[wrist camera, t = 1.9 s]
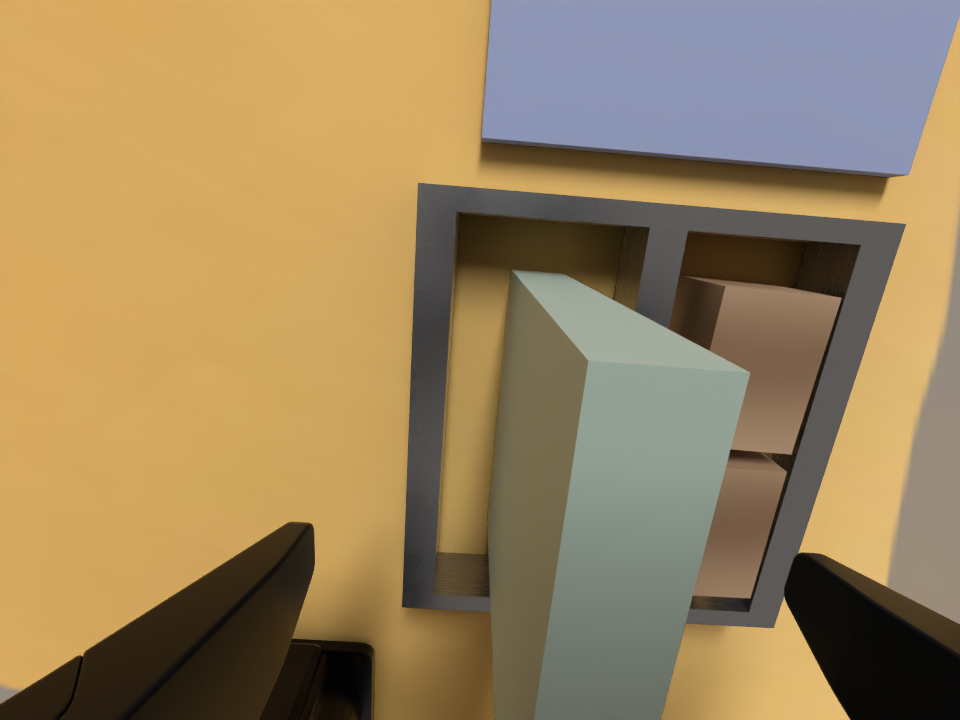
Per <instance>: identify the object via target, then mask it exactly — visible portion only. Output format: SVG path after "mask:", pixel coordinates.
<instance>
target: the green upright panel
mask: <svg viewBox="0 0 960 720" xmlns="http://www.w3.org/2000/svg"><path fill="white" fill-rule="evenodd" d="M749 376H750V372H748V371H746V370H744V369H743V368H741V367H739V366H737V365H735V364H733V363H731V362H729V361H727V360H726V359H724V358H722V357H720V356H718V355H716V354H714V353H712V352H710V351H709V350H707V349H705V348H703V347H701V346H699V345H697V344H695V343H693V342H692V341H690V340H688V339H686V338H684V337H682V336H680V335H678V334H676V333H675V332H673V331H671V330H669V329H667V328H665V327H663V326H661V325H659V324H658V323H656V322H654V321H652V320H650V319H648V318H646V317H644V316H642V315H641V314H639V313H637V312H635V311H633V310H631V309H629V308H627V307H625V306H624V305H622V304H620V303H618V302H616V301H614V300H612V299H610V298H608V297H607V296H605V295H603V294H601V293H599V292H597V291H595V290H593V289H591V288H590V287H588V286H586V285H584V284H582V283H580V282H578V281H576V280H574V279H573V278H571V277H569V276H567V275H565V274H563V273H553V272H540V271H528V270H515V269H511V277H510V287H509V298H508V308H507V318H506V329H505V339H504V349H503V360H502V370H501V381H500V391H499V401H498V412H497V422H496V433H495V443H494V453H493V464H492V474H491V484H490V495H489V505H488V516H487V530H488V556H489V582H490V609H491V635H492V661H493V687H494V714H495V720H661V717H662V713H663V709H664V705H665V701H666V697H667V693H668V690H669V686H670V682H671V678H672V674H673V670H674V666H675V662H676V659H677V655H678V651H679V647H680V643H681V639H682V635H683V632H684V628H685V624H686V620H687V616H688V612H689V608H690V604H691V601H692V597H693V593H694V589H695V585H696V581H697V577H698V573H699V570H700V566H701V562H702V558H703V554H704V550H705V546H706V542H707V539H708V535H709V531H710V527H711V523H712V519H713V515H714V512H715V508H716V504H717V500H718V496H719V492H720V488H721V484H722V481H723V477H724V473H725V469H726V465H727V461H728V457H729V453H730V450H731V446H732V442H733V438H734V434H735V430H736V426H737V422H738V419H739V415H740V411H741V407H742V403H743V399H744V395H745V392H746V388H747V384H748V380H749Z"/></svg>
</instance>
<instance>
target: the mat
mask: <svg viewBox="0 0 960 720" xmlns="http://www.w3.org/2000/svg"><path fill="white" fill-rule="evenodd" d="M959 16H960V0H492V2H491V16H490V30H489V44H488V57H487V71H486V85H485V99H484V113H483V126H482V141H481V142H492V143H503V144H514V145H526V146H537V147H549V148H560V149H572V150H583V151H594V152H606V153H617V154H629V155H640V156H652V157H663V158H674V159H686V160H697V161H709V162H720V163H732V164H743V165H755V166H766V167H777V168H789V169H800V170H812V171H823V172H835V173H846V174H857V175H869V176H880V177H897V176H905V175H909V172H910V169H911V166H912V163H913V160H914V157H915V154H916V150H917V147H918V144H919V141H920V138H921V135H922V132H923V129H924V125H925V122H926V119H927V116H928V113H929V110H930V107H931V104H932V100H933V97H934V94H935V91H936V88H937V85H938V82H939V79H940V75H941V72H942V69H943V66H944V63H945V60H946V57H947V54H948V50H949V47H950V44H951V41H952V38H953V35H954V32H955V29H956V25H957V22H958V19H959Z"/></svg>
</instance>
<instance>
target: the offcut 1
mask: <svg viewBox="0 0 960 720" xmlns="http://www.w3.org/2000/svg"><path fill="white" fill-rule="evenodd" d="M841 299H842V298H840V297H835V296H829V295H824V294H819V293H814V292H808V291H803V290H798V289H793V288H787V287H782V286H777V285H772V284H762V283H753V282H743V281H733V280H723V279H713V278H703V277H693V276H683V275H679V279H678V284H677V289H676V294H675V299H674V304H673V309H672V314H671V319H670V324H669V330H671V331H673V332H675V333H676V334H678V335H680V336H682V337H684V338H686V339H688V340H690V341H692V342H693V343H695V344H697V345H699V346H701V347H703V348H705V349H707V350H709V351H710V352H712V353H714V354H716V355H718V356H720V357H722V358H724V359H726V360H727V361H729V362H731V363H733V364H735V365H737V366H739V367H741V368H743V369H744V370H746V371H748V372H750V376H749V380H748V384H747V388H746V392H745V395H744V399H743V403H742V407H741V411H740V415H739V419H738V422H737V426H736V430H735V434H734V438H733V442H732V446H731V449H733V450H744V451H756V452H768V453H779V454H792V451H793V448H794V445H795V441H796V438H797V435H798V432H799V429H800V426H801V423H802V420H803V417H804V413H805V410H806V407H807V404H808V401H809V398H810V395H811V392H812V389H813V386H814V382H815V379H816V376H817V373H818V370H819V367H820V364H821V361H822V358H823V354H824V351H825V348H826V345H827V342H828V339H829V336H830V333H831V330H832V326H833V323H834V320H835V317H836V314H837V311H838V308H839V305H840V302H841Z"/></svg>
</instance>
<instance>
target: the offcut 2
mask: <svg viewBox="0 0 960 720" xmlns="http://www.w3.org/2000/svg"><path fill="white" fill-rule="evenodd" d="M786 474H787V472H786V471H785V470H784V469H783V468H781V467H780V466H779V465H777V464H776V463H775V462H774V461H772V460H771V459H770V458H768V457H767V456H766V455H765V454H763V453H762V452H756V451H744V450H733V449H731V450H730V453H729V457H728V461H727V465H726V469H725V473H724V477H723V481H722V484H721V488H720V492H719V496H718V500H717V504H716V508H715V512H714V515H713V519H712V523H711V527H710V531H709V535H708V539H707V542H706V546H705V550H704V554H703V558H702V562H701V566H700V570H699V573H698V577H697V581H696V585H695V589H694V593H693V596H712V597H733V598H751V594H752V591H753V588H754V584H755V581H756V577H757V574H758V570H759V567H760V563H761V560H762V557H763V553H764V550H765V546H766V543H767V539H768V536H769V532H770V529H771V525H772V522H773V519H774V515H775V512H776V508H777V505H778V501H779V498H780V494H781V491H782V488H783V484H784V481H785V477H786Z"/></svg>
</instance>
